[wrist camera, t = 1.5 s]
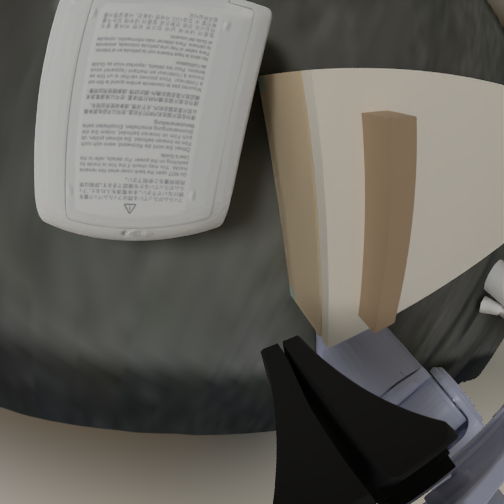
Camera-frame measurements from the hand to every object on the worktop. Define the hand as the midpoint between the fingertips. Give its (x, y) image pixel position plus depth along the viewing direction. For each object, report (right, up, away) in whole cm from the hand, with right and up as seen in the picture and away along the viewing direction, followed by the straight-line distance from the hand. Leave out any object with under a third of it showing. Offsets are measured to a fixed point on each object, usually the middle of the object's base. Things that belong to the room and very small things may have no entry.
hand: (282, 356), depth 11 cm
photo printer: (-5, +16, -3) cm, 17 cm away
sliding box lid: (+14, +9, +5) cm, 18 cm away
